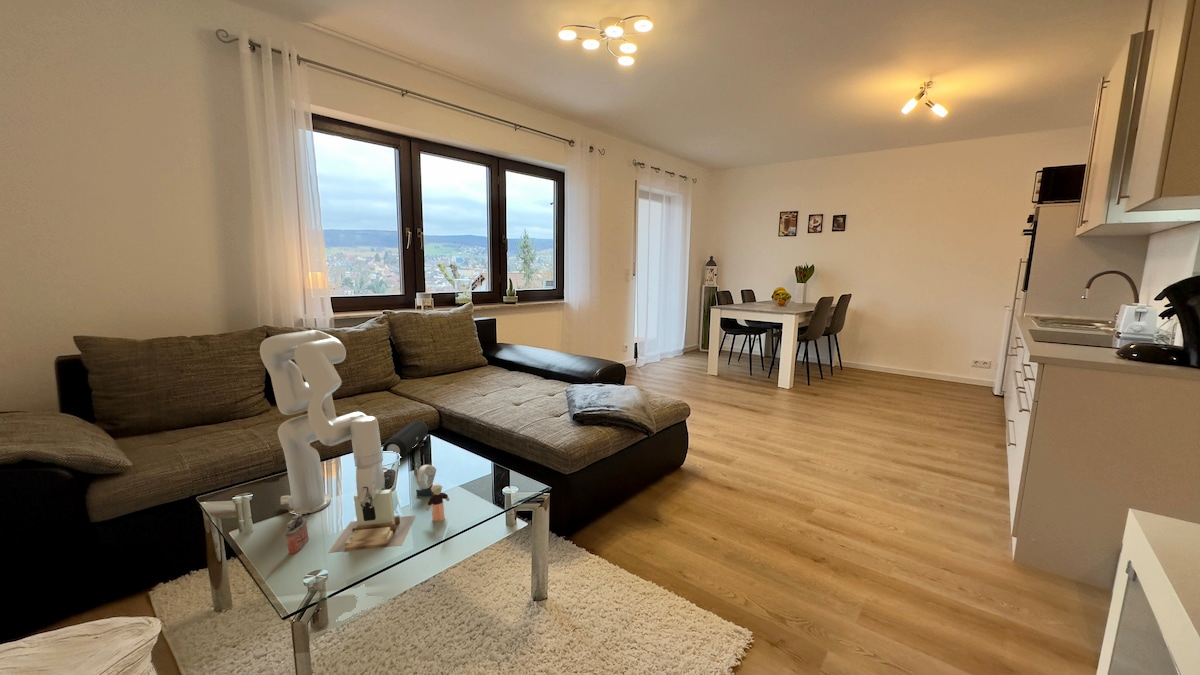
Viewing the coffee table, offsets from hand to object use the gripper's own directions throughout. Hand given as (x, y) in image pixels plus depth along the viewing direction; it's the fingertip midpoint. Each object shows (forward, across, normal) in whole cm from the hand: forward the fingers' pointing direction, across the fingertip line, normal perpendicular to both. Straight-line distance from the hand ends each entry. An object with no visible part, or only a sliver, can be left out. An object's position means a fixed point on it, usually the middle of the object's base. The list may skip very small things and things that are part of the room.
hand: (375, 511), depth 141 cm
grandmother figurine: (+7, -3, +18) cm, 19 cm away
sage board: (+6, 0, 0) cm, 6 cm away
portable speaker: (+7, -65, -9) cm, 66 cm away
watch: (+7, -21, +10) cm, 24 cm away
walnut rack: (+7, +2, 0) cm, 7 cm away
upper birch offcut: (+5, +6, 0) cm, 8 cm away
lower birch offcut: (+6, +6, 0) cm, 9 cm away
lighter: (+7, +5, -20) cm, 22 cm away
